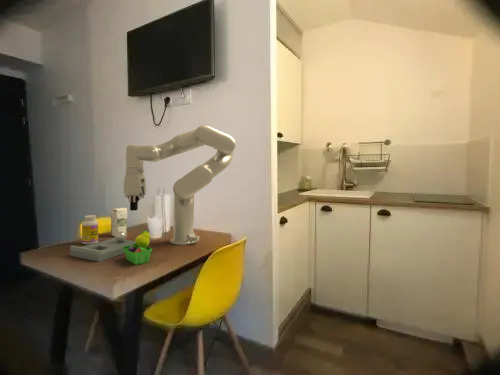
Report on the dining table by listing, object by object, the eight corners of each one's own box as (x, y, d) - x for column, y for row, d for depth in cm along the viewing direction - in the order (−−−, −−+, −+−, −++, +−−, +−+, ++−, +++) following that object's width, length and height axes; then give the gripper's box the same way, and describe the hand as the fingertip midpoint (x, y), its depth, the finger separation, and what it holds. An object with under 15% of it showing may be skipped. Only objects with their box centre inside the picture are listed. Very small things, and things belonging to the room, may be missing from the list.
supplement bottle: (91, 245, 130) (90, 217, 129) (78, 244, 131) (78, 216, 131) (101, 241, 137) (101, 215, 136) (89, 240, 138) (89, 214, 137)
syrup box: (121, 233, 154) (121, 207, 153) (127, 235, 150) (127, 208, 149) (111, 235, 149) (110, 208, 148) (117, 237, 146) (116, 209, 145)
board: (141, 247, 129) (141, 238, 129) (99, 261, 109) (98, 251, 108) (114, 243, 135) (114, 234, 135) (70, 255, 115) (70, 246, 114)
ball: (128, 241, 129) (128, 230, 129) (120, 243, 125) (120, 233, 125) (120, 240, 131) (120, 229, 131) (112, 242, 127) (112, 231, 126)
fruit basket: (121, 259, 112) (121, 231, 112) (143, 254, 119) (143, 228, 118) (133, 266, 104) (133, 236, 104) (156, 261, 111) (156, 233, 110)
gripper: (152, 172, 134) (151, 210, 136) (128, 171, 140) (127, 207, 141) (141, 172, 127) (140, 212, 129) (116, 170, 133) (115, 209, 134)
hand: (133, 210), depth 135 cm, fingers closed
